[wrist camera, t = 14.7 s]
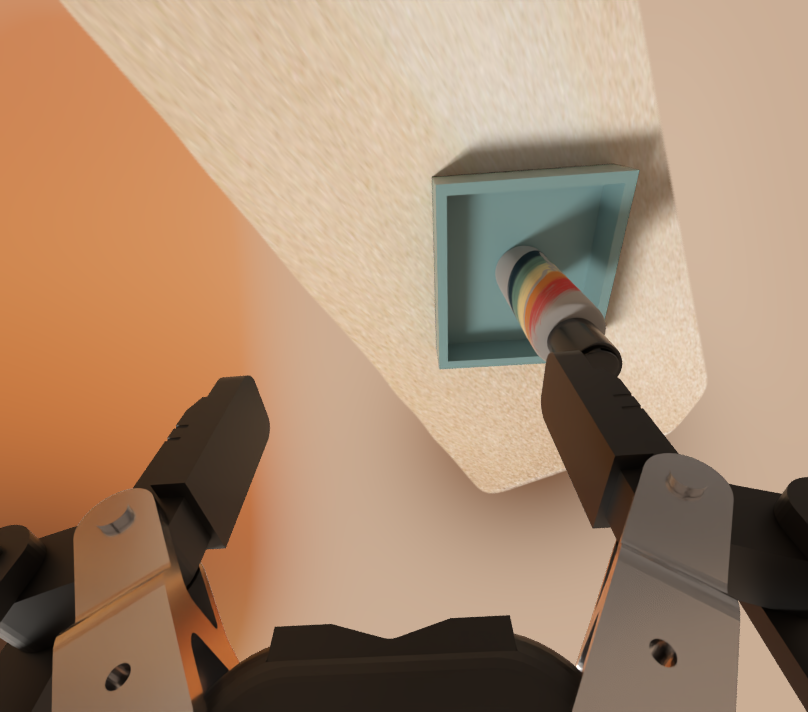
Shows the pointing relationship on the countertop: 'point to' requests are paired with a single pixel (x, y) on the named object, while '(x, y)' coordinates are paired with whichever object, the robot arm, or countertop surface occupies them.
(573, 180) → the tray
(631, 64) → the countertop surface
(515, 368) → the countertop surface
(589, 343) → the lotion bottle
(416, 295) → the countertop surface
